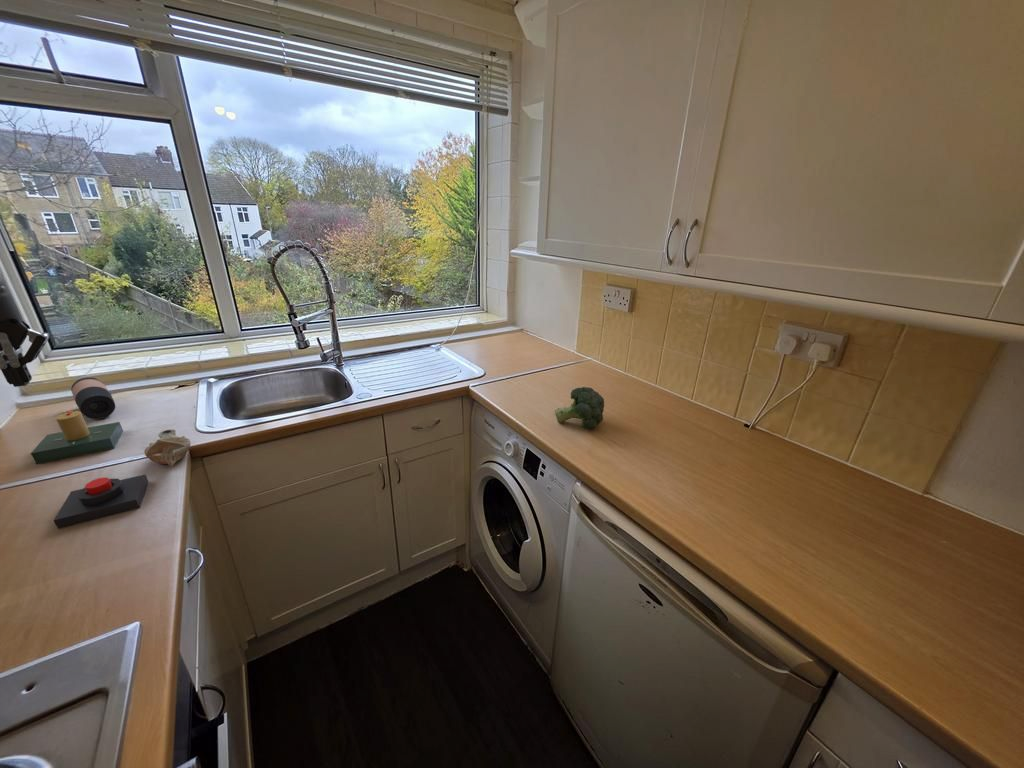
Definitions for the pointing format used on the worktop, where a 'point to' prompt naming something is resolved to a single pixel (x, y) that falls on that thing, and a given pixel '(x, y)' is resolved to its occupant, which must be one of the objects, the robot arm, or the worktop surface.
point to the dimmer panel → (77, 443)
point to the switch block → (102, 502)
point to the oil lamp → (168, 448)
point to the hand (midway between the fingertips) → (22, 384)
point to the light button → (98, 485)
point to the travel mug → (93, 398)
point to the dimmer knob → (73, 425)
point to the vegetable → (583, 408)
